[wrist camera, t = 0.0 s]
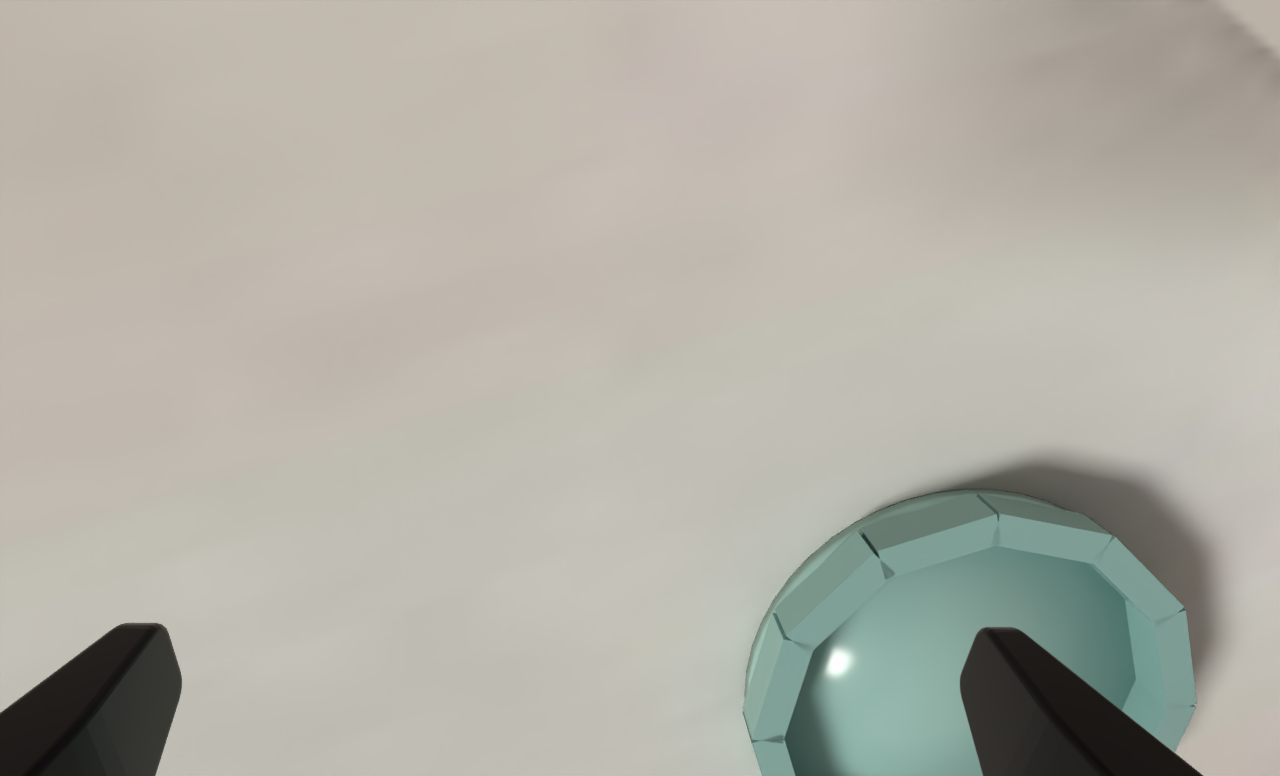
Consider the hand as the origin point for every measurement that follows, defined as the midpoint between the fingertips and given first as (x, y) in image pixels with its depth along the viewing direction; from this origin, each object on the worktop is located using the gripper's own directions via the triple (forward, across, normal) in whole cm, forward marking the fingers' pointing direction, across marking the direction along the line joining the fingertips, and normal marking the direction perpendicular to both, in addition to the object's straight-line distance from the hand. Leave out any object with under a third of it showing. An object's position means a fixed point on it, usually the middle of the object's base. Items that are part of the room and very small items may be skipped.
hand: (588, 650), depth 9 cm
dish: (+12, -13, +15) cm, 23 cm away
